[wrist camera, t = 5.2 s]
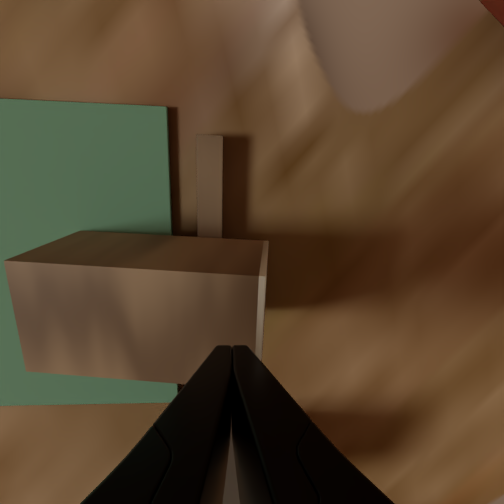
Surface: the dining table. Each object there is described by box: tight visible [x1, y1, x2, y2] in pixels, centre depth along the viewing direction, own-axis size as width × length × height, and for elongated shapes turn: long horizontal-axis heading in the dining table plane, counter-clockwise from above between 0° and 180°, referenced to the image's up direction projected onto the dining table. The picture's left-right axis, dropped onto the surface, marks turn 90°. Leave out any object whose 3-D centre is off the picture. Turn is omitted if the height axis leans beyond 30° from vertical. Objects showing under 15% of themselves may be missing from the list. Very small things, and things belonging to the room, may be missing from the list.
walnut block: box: [4, 231, 269, 384], centre depth 12 cm, size 4×4×8 cm
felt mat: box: [0, 99, 178, 406], centre depth 14 cm, size 14×12×1 cm
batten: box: [196, 135, 223, 238], centre depth 14 cm, size 12×1×1 cm, turn 178°
